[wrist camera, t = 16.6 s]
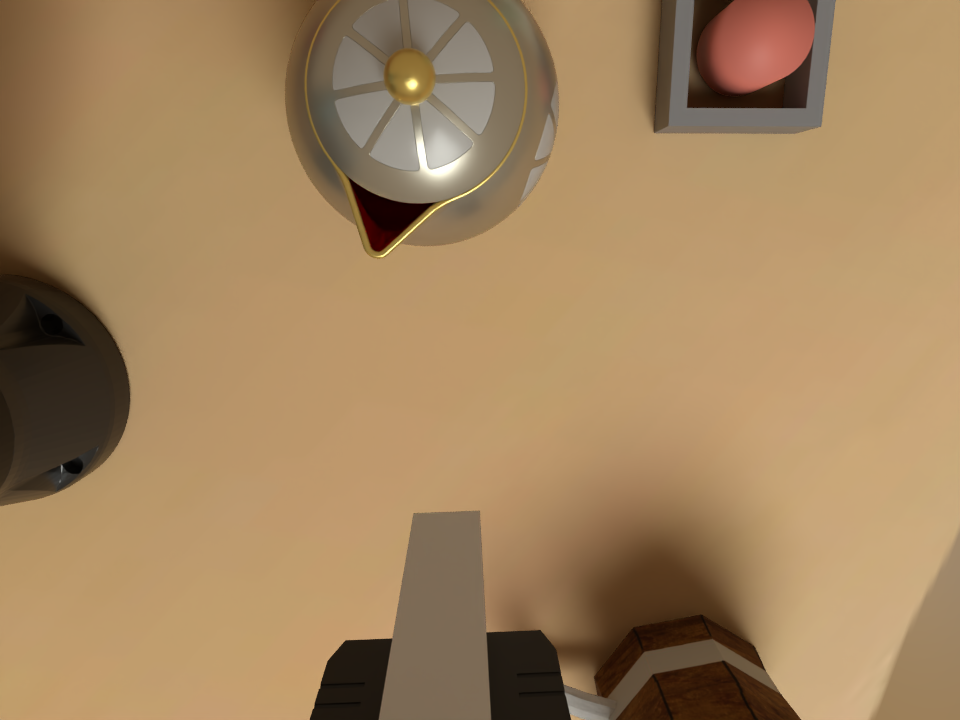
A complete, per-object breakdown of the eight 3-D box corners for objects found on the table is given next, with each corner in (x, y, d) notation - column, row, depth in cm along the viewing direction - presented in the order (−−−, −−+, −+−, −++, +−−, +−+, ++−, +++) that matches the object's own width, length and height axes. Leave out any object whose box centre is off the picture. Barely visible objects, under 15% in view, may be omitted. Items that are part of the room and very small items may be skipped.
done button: (693, 96, 38) (718, 82, 34) (699, 6, 37) (726, -19, 33) (774, 96, 38) (809, 82, 34) (783, 7, 37) (820, -19, 33)
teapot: (503, 276, 41) (521, 310, 25) (302, 217, 40) (190, 214, 25) (588, -11, 38) (673, -182, 22) (370, -84, 37) (290, -318, 21)
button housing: (654, 132, 40) (668, 125, 37) (663, -25, 38) (679, -46, 35) (795, 133, 40) (821, 126, 37) (811, -24, 38) (840, -45, 35)
